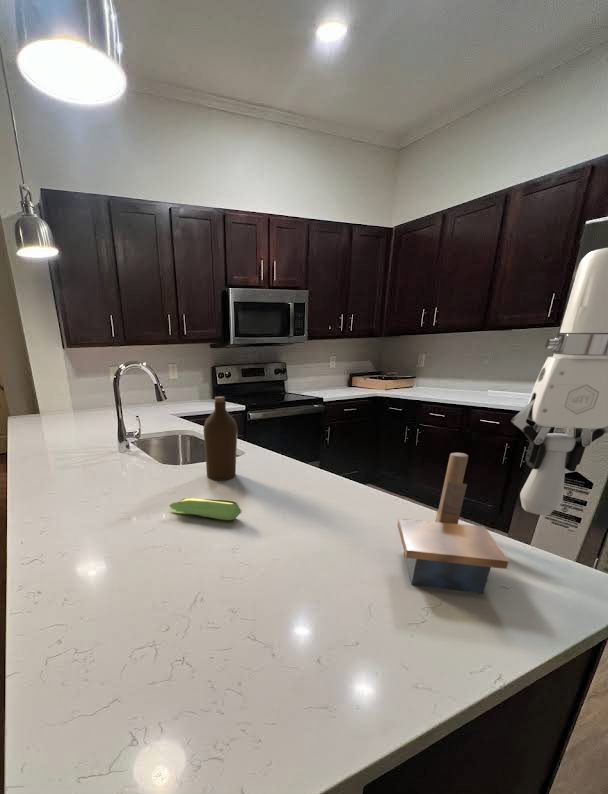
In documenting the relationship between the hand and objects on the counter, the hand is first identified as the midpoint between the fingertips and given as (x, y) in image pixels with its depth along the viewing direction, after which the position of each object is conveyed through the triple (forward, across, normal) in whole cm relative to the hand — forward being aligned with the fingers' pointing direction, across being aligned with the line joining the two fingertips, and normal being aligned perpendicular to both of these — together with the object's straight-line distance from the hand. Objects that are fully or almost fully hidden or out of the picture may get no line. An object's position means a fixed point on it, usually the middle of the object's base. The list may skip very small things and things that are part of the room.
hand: (550, 466), depth 68 cm
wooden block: (+23, -8, +20) cm, 31 cm away
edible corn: (+23, -65, +17) cm, 71 cm away
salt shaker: (+8, 0, 0) cm, 8 cm away
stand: (+23, -12, +2) cm, 26 cm away
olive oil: (+23, -69, +49) cm, 88 cm away
